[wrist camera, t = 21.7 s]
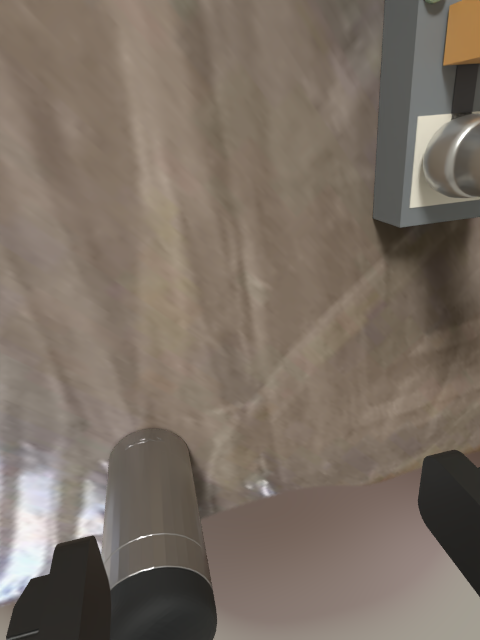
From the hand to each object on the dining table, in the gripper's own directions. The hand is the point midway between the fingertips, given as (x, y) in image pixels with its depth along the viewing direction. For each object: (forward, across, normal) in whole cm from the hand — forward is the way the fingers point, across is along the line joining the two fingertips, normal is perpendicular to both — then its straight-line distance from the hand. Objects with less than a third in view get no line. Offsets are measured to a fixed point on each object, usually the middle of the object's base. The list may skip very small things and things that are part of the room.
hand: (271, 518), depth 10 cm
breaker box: (+33, -26, -9) cm, 43 cm away
